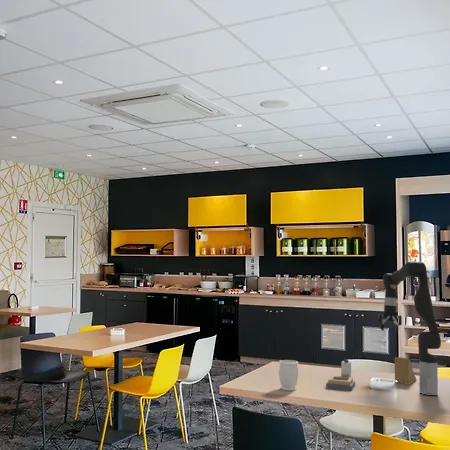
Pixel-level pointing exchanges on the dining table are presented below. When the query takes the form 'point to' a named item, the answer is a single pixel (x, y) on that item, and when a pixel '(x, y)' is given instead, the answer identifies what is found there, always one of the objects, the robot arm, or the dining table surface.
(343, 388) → the charcoal dock
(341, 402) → the dining table surface
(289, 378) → the jar
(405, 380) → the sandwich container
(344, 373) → the grey bottle
